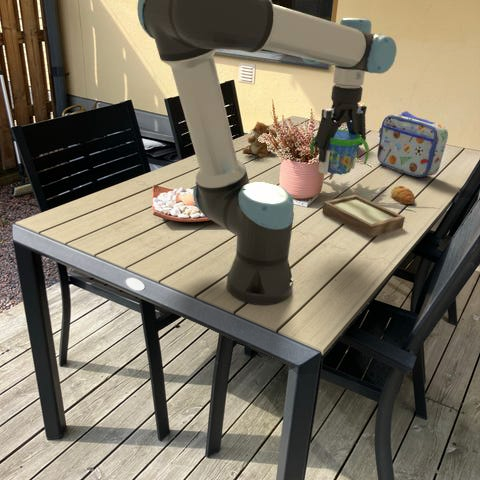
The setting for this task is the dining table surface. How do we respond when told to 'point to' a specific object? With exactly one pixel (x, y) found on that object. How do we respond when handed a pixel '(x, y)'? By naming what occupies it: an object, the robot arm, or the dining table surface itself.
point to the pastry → (403, 195)
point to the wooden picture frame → (363, 215)
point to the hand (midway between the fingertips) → (336, 170)
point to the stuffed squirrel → (255, 145)
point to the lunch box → (411, 144)
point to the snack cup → (343, 151)
